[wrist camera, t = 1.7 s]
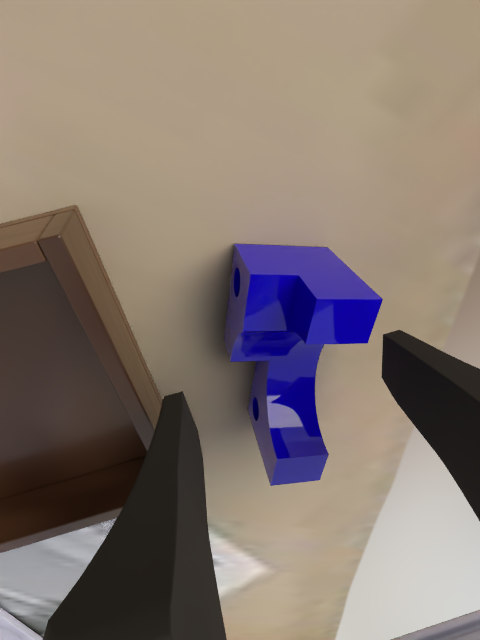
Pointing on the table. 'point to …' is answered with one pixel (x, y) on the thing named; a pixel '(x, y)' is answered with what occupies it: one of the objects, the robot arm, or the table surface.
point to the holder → (65, 384)
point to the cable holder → (292, 344)
